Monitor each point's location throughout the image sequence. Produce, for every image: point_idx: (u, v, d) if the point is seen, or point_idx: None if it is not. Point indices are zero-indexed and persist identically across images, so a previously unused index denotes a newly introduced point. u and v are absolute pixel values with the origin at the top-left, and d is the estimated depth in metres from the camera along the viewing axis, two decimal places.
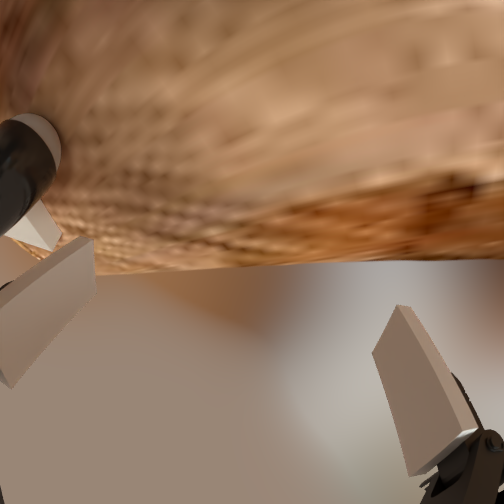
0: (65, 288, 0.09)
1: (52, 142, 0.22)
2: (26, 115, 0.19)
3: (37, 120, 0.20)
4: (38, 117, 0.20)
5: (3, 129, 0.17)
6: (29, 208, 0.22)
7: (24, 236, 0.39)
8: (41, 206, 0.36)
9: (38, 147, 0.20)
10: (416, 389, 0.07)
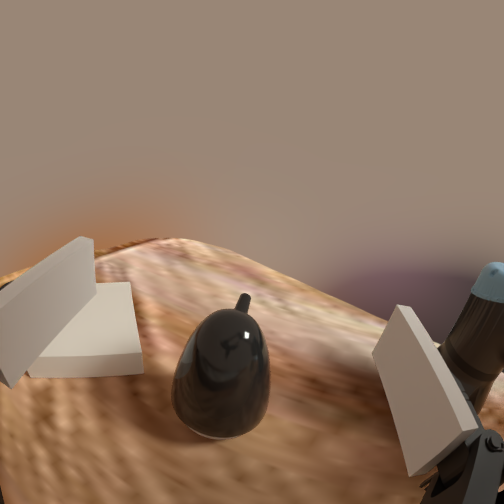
0: (65, 288, 0.09)
1: None
2: None
3: None
4: None
5: None
6: (208, 405, 0.21)
7: None
8: (87, 374, 0.28)
9: (256, 423, 0.24)
10: (416, 389, 0.07)
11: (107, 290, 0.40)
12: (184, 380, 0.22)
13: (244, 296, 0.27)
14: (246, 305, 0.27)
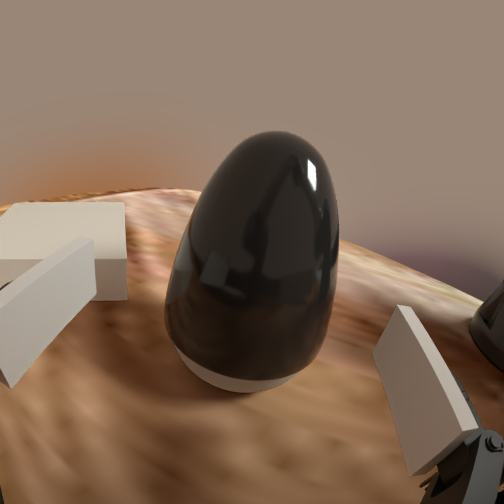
0: (65, 288, 0.09)
1: (287, 379, 0.15)
2: None
3: None
4: None
5: None
6: (237, 292, 0.12)
7: (6, 230, 0.20)
8: None
9: (314, 353, 0.15)
10: (416, 389, 0.07)
11: (94, 206, 0.31)
12: (192, 248, 0.13)
13: None
14: None
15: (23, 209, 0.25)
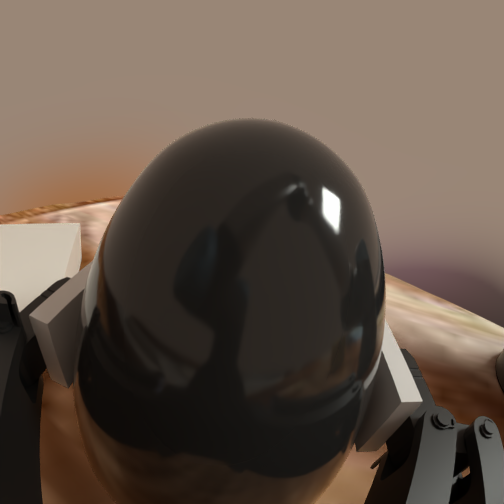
0: None
1: None
2: None
3: None
4: None
5: None
6: (160, 496, 0.04)
7: None
8: None
9: None
10: None
11: (43, 230, 0.22)
12: (76, 390, 0.05)
13: None
14: None
15: None
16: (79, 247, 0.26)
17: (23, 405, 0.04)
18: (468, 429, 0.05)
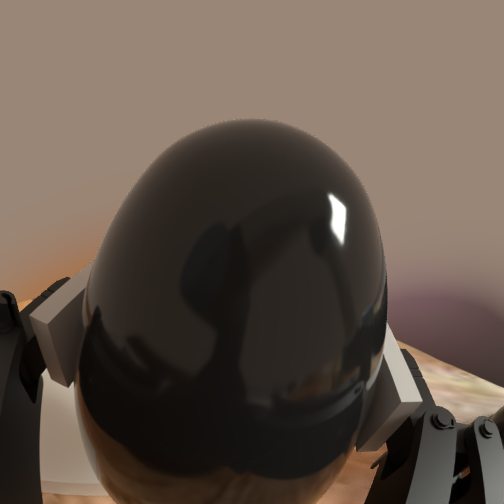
0: None
1: None
2: None
3: None
4: None
5: None
6: (162, 497, 0.04)
7: None
8: None
9: None
10: None
11: None
12: (77, 392, 0.05)
13: None
14: None
15: None
16: None
17: (23, 405, 0.04)
18: (468, 429, 0.05)
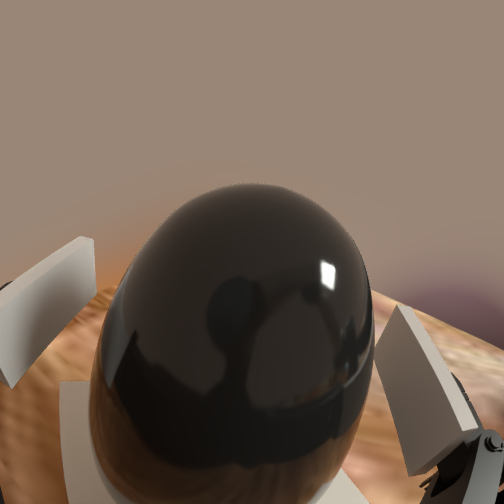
0: (65, 288, 0.09)
1: None
2: None
3: None
4: None
5: None
6: None
7: None
8: None
9: None
10: (416, 389, 0.07)
11: None
12: (95, 424, 0.05)
13: None
14: None
15: None
16: None
17: None
18: None
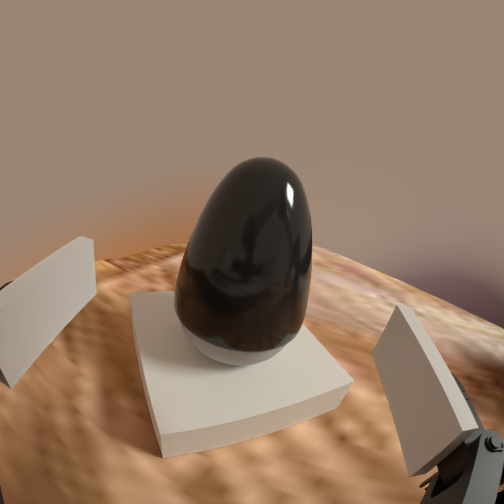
0: (65, 288, 0.09)
1: (272, 354, 0.20)
2: None
3: None
4: None
5: None
6: (232, 281, 0.16)
7: (176, 361, 0.20)
8: (268, 431, 0.19)
9: (293, 332, 0.19)
10: (416, 389, 0.07)
11: None
12: (198, 249, 0.17)
13: None
14: None
15: (159, 309, 0.25)
16: None
17: None
18: None
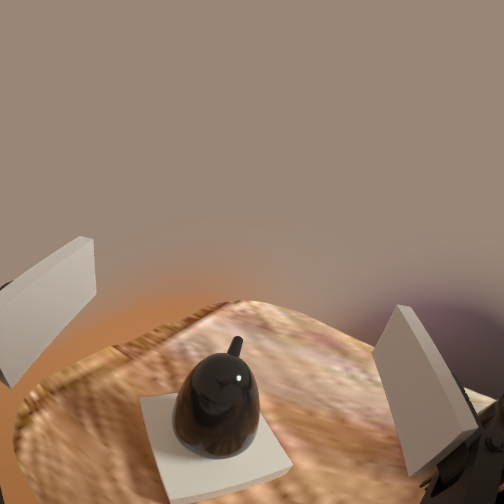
0: (65, 288, 0.09)
1: None
2: None
3: None
4: None
5: None
6: (204, 434, 0.23)
7: (176, 453, 0.27)
8: (235, 491, 0.26)
9: (247, 447, 0.26)
10: (416, 389, 0.07)
11: None
12: (183, 412, 0.24)
13: (237, 339, 0.29)
14: (238, 347, 0.29)
15: (161, 412, 0.32)
16: None
17: None
18: None
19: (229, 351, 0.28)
